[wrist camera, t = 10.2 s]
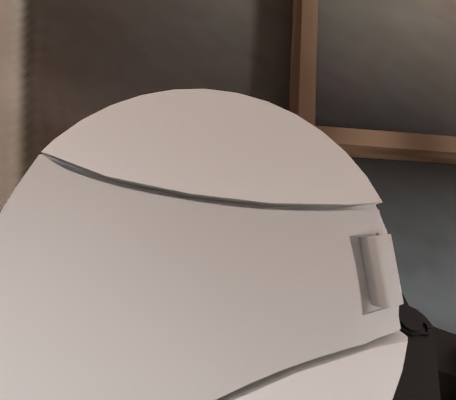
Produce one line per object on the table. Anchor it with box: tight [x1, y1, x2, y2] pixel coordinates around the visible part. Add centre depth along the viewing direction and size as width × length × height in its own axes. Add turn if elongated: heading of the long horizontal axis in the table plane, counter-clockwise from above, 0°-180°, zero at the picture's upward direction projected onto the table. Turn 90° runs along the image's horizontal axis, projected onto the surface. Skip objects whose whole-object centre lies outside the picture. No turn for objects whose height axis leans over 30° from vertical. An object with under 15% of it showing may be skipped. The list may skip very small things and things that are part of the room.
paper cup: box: [0, 89, 408, 400], centre depth 12 cm, size 8×8×14 cm
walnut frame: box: [289, 0, 456, 164], centre depth 22 cm, size 16×18×2 cm
